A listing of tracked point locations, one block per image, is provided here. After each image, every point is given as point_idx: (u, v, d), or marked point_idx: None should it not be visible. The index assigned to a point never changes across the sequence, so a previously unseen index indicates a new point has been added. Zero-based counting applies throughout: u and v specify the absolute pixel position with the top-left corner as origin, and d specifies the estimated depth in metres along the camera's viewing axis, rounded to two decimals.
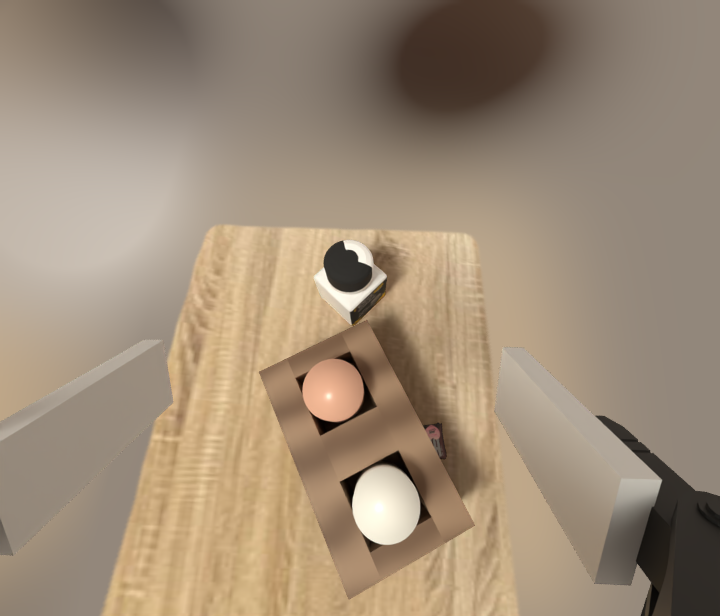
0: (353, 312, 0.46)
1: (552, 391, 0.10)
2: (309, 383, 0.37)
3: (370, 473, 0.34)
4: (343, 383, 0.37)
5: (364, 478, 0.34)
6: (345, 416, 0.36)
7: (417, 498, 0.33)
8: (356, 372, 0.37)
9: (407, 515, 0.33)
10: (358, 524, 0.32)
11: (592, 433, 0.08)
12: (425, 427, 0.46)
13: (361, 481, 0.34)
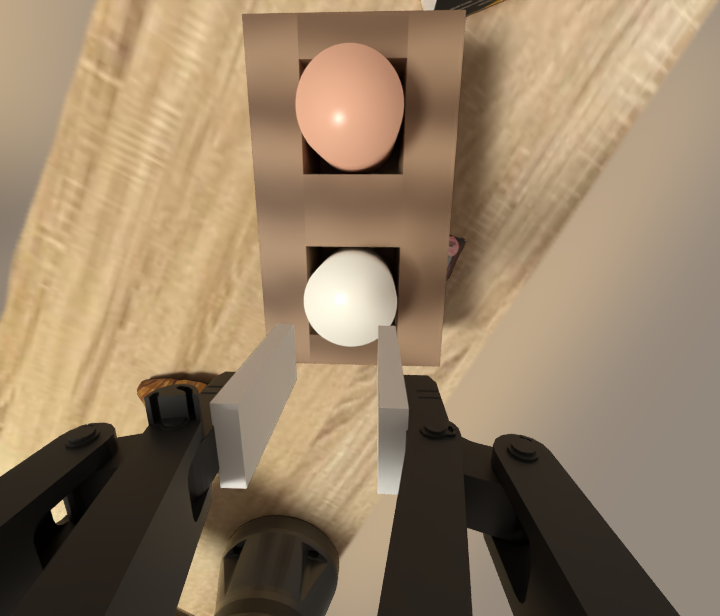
0: None
1: (386, 355, 0.12)
2: (315, 76, 0.20)
3: (348, 257, 0.23)
4: (369, 105, 0.20)
5: (337, 259, 0.23)
6: (349, 162, 0.21)
7: (392, 314, 0.24)
8: (400, 97, 0.20)
9: (370, 326, 0.24)
10: (306, 306, 0.24)
11: (388, 382, 0.10)
12: None
13: (332, 261, 0.23)
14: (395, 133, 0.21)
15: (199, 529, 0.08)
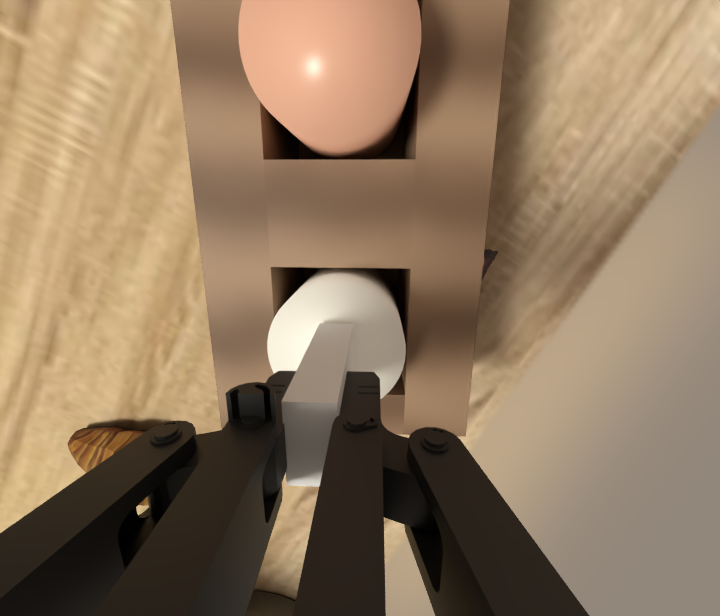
0: None
1: (334, 352, 0.12)
2: None
3: (332, 286, 0.15)
4: (363, 37, 0.12)
5: (316, 288, 0.15)
6: (330, 136, 0.13)
7: (399, 368, 0.16)
8: (415, 23, 0.12)
9: None
10: (271, 355, 0.16)
11: (326, 377, 0.11)
12: None
13: (308, 291, 0.15)
14: (406, 86, 0.12)
15: (269, 530, 0.08)
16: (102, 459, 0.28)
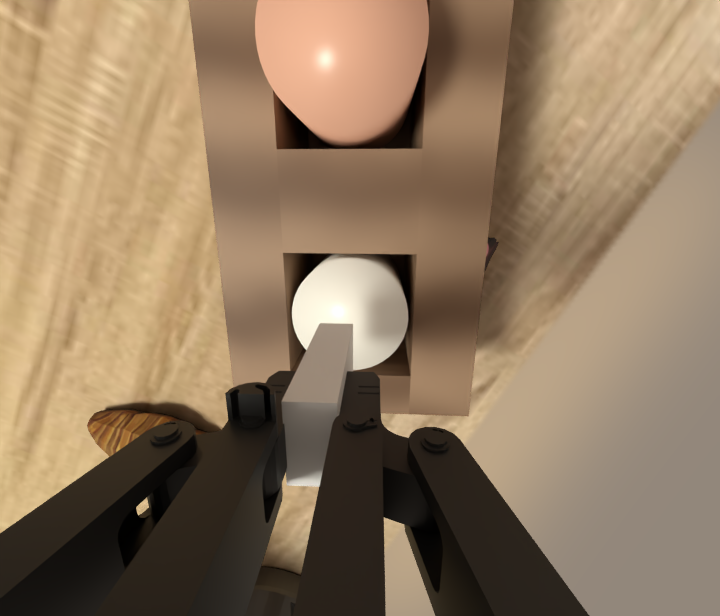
0: None
1: (334, 352, 0.12)
2: None
3: (347, 261, 0.18)
4: (373, 31, 0.13)
5: (333, 264, 0.18)
6: (341, 126, 0.14)
7: (402, 332, 0.19)
8: (423, 16, 0.13)
9: (374, 346, 0.20)
10: (295, 321, 0.19)
11: (326, 377, 0.11)
12: None
13: (326, 266, 0.18)
14: (414, 78, 0.13)
15: (269, 530, 0.08)
16: (120, 439, 0.30)
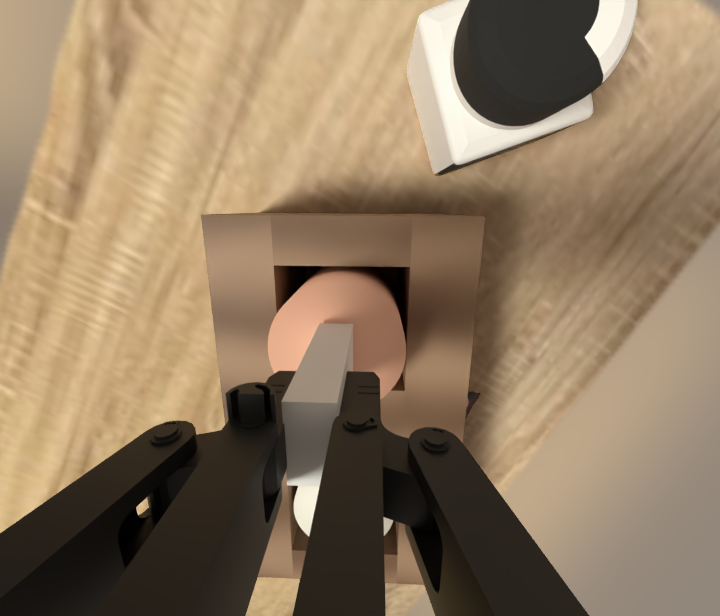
0: (459, 166, 0.20)
1: (334, 352, 0.12)
2: (292, 317, 0.16)
3: None
4: (362, 351, 0.16)
5: None
6: None
7: (390, 522, 0.22)
8: (401, 343, 0.16)
9: None
10: (296, 512, 0.22)
11: (326, 377, 0.11)
12: None
13: None
14: (395, 381, 0.16)
15: (269, 530, 0.08)
16: None
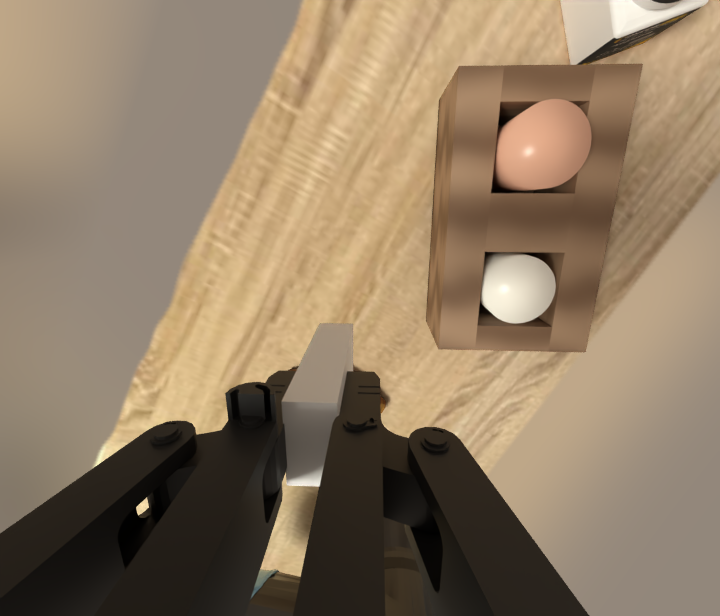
0: (611, 44, 0.30)
1: (334, 352, 0.12)
2: (525, 122, 0.27)
3: (523, 256, 0.31)
4: (564, 144, 0.27)
5: (514, 258, 0.31)
6: (542, 186, 0.28)
7: (550, 299, 0.32)
8: (588, 138, 0.27)
9: (532, 308, 0.32)
10: (485, 292, 0.32)
11: (326, 378, 0.11)
12: None
13: (510, 259, 0.31)
14: (581, 165, 0.27)
15: (269, 530, 0.08)
16: None
